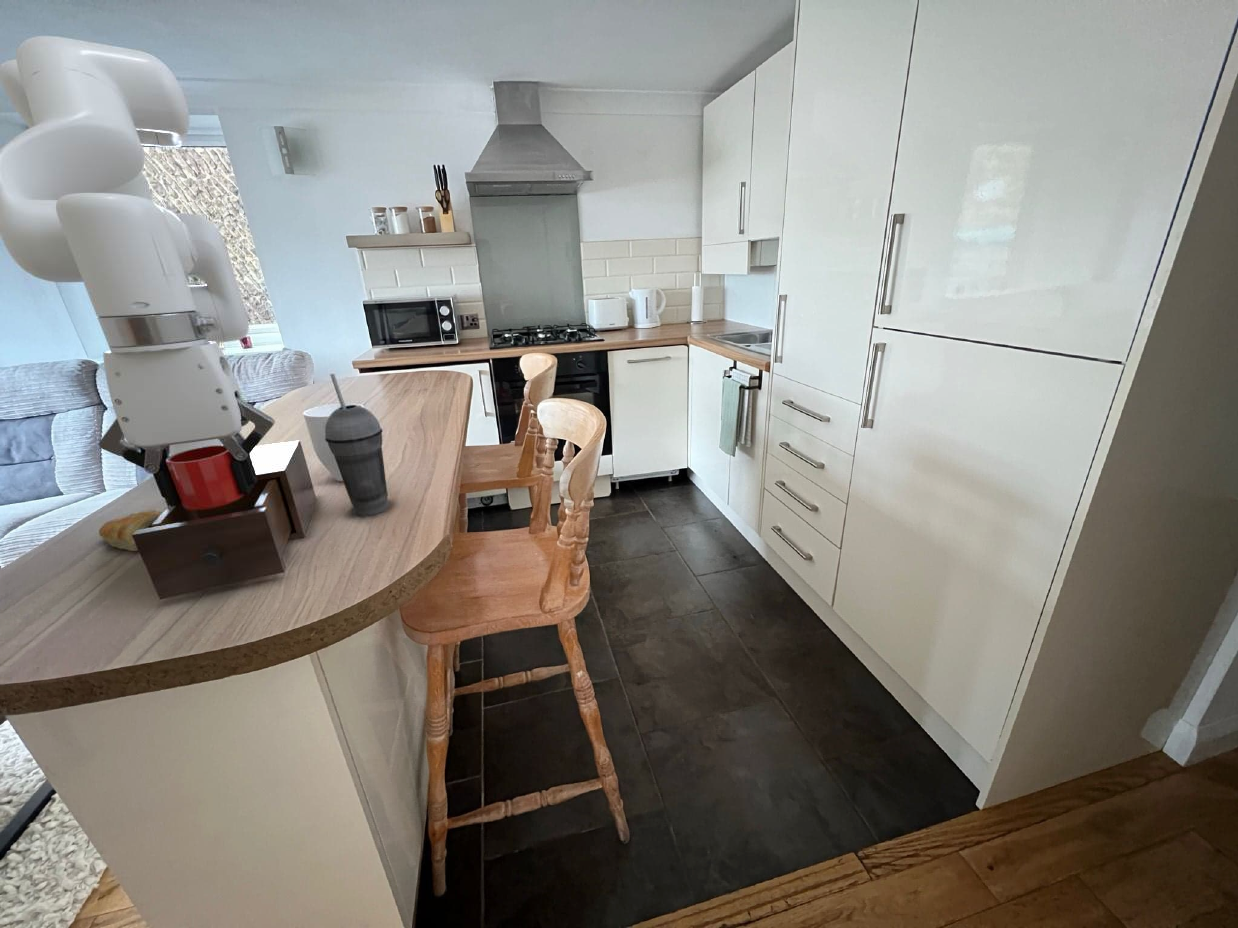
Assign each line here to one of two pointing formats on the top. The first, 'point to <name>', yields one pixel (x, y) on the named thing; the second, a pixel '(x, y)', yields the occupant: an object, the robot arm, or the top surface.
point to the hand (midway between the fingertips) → (214, 494)
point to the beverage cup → (358, 455)
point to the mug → (323, 435)
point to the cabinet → (287, 480)
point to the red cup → (204, 477)
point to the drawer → (217, 542)
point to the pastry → (127, 529)
